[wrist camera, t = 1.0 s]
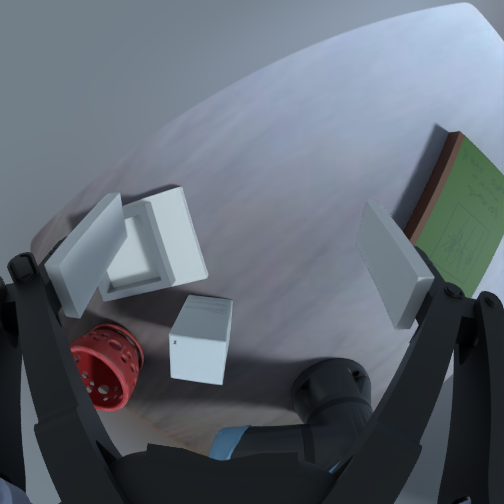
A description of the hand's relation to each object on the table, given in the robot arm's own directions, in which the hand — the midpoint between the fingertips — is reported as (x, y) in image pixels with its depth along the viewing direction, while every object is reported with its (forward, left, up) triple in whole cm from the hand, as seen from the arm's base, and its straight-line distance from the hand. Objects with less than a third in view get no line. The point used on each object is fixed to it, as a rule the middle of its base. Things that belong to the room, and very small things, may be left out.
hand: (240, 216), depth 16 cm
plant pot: (-21, +31, -29) cm, 47 cm away
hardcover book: (-13, -33, -29) cm, 46 cm away
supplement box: (-18, +12, -29) cm, 36 cm away
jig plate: (-4, +19, -28) cm, 34 cm away
